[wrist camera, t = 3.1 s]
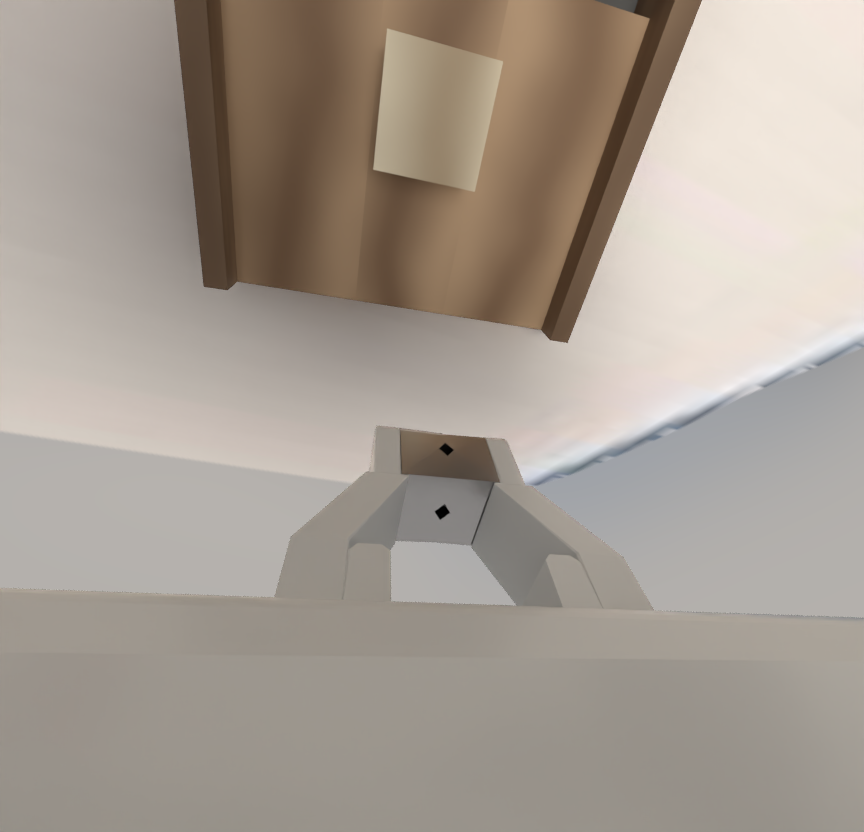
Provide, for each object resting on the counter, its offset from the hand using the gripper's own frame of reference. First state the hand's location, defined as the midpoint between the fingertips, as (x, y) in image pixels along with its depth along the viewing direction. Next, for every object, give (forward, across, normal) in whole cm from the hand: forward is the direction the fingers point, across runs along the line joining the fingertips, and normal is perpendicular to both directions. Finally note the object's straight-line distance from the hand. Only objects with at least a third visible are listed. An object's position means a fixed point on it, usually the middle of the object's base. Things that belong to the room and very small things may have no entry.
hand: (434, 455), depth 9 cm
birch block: (+14, 0, -7) cm, 15 cm away
